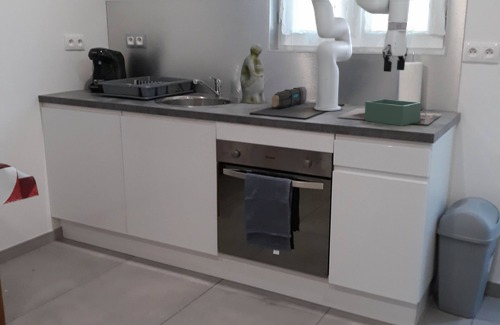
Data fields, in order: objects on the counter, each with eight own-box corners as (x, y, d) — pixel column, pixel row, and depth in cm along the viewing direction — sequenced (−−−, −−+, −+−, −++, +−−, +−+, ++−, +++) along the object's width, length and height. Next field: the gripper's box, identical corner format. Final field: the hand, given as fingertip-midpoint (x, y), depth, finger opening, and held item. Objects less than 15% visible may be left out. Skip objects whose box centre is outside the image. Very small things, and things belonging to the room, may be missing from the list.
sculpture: (253, 104, 266) (253, 43, 258) (235, 101, 276) (234, 43, 269) (269, 102, 273) (269, 43, 266) (251, 99, 283) (251, 42, 276)
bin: (364, 120, 218) (365, 101, 216) (382, 116, 227) (383, 98, 225) (402, 125, 206) (403, 106, 204) (419, 121, 215) (421, 102, 213)
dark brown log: (266, 114, 250) (295, 99, 274) (278, 119, 248) (306, 103, 271) (270, 93, 245) (298, 80, 269) (282, 97, 243) (310, 83, 266)
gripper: (400, 26, 216) (397, 68, 221) (376, 27, 205) (373, 71, 209) (417, 27, 211) (413, 70, 215) (393, 27, 199) (390, 72, 204)
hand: (393, 70), depth 212 cm, fingers open, 9 cm apart
